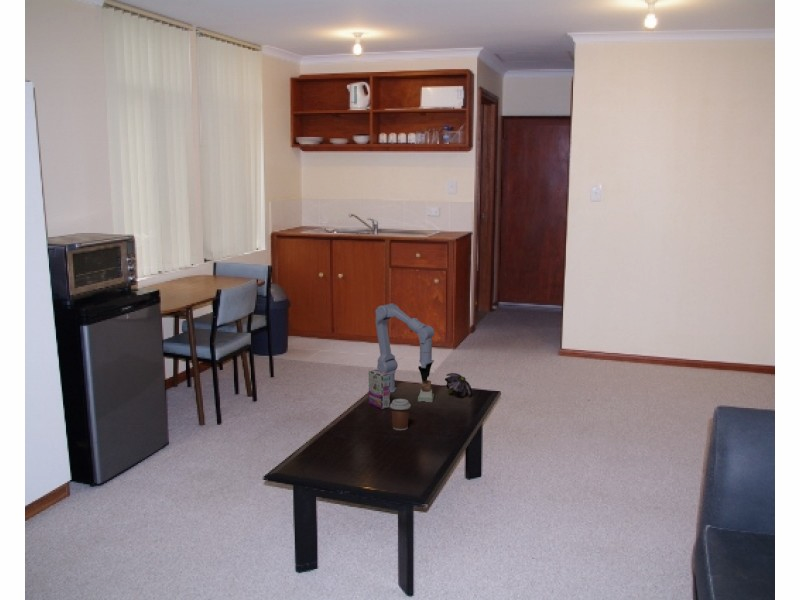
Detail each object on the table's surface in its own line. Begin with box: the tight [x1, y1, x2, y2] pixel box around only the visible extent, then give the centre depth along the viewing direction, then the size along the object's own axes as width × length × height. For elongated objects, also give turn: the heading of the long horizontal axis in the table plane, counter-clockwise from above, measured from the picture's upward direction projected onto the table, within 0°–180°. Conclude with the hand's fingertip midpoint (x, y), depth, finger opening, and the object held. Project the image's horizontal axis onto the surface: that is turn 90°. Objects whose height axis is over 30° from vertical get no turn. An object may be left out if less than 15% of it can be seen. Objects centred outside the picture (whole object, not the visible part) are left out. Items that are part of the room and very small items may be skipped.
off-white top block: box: [419, 388, 433, 397], centre depth 350 cm, size 6×6×2 cm
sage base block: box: [417, 393, 435, 403], centre depth 350 cm, size 7×7×2 cm
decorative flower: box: [444, 372, 473, 399], centre depth 356 cm, size 15×12×15 cm
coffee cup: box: [389, 398, 412, 431], centre depth 310 cm, size 9×9×12 cm
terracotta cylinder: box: [421, 379, 432, 392], centre depth 349 cm, size 4×4×4 cm
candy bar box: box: [368, 369, 391, 410], centre depth 339 cm, size 11×5×16 cm, turn 37°
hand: (425, 378), depth 349 cm, fingers open, 7 cm apart
